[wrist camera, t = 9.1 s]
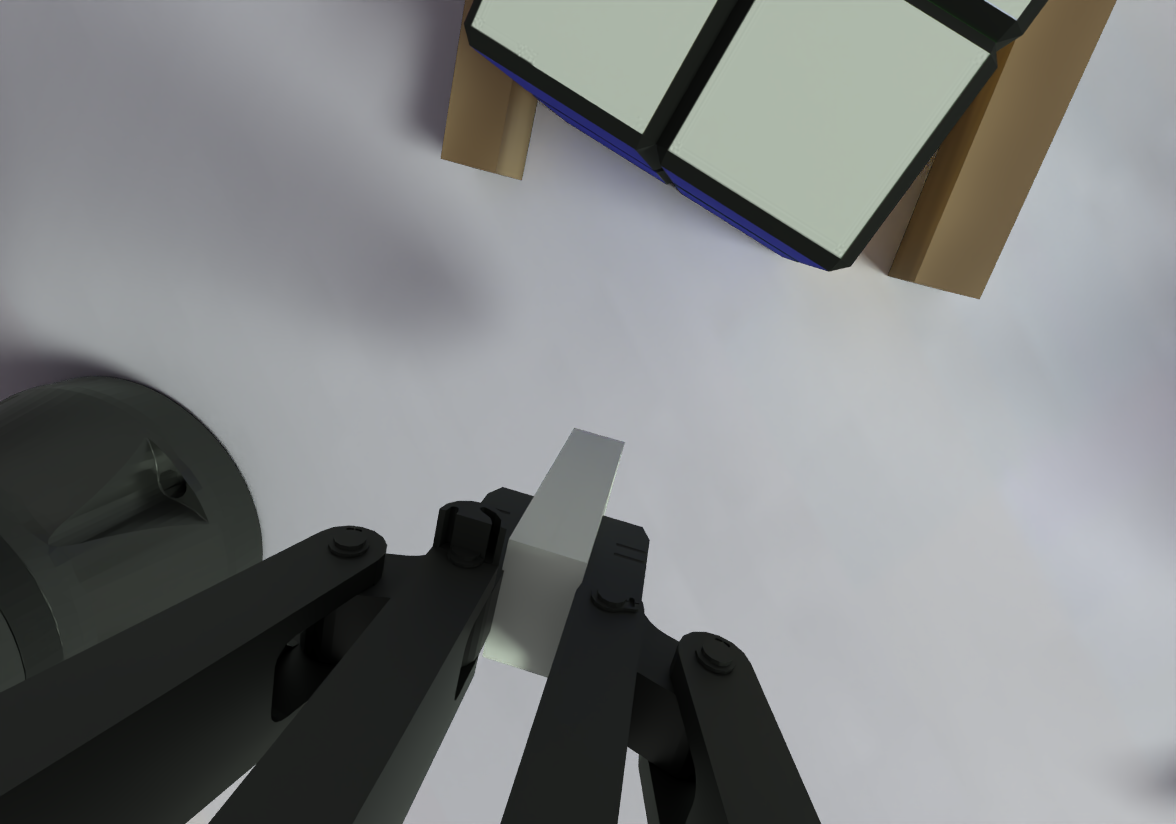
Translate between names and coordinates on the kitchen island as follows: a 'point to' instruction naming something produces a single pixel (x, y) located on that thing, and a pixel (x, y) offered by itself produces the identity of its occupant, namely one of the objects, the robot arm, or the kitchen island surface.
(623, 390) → the kitchen island surface
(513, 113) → the walnut dock
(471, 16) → the puzzle cube
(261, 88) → the kitchen island surface
